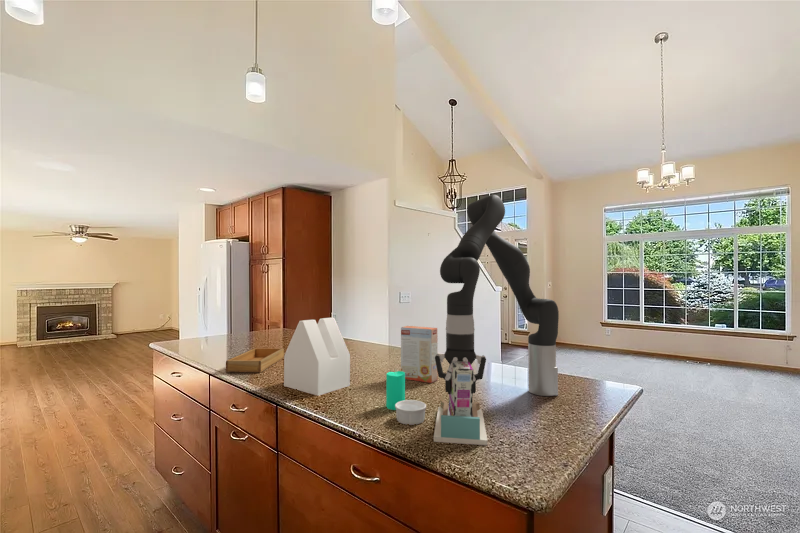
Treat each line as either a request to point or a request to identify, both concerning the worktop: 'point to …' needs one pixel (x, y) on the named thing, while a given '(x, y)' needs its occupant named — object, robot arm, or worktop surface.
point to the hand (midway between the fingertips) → (460, 393)
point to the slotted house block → (317, 358)
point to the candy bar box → (461, 389)
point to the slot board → (460, 426)
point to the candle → (395, 388)
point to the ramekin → (410, 412)
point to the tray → (255, 360)
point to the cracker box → (419, 353)
